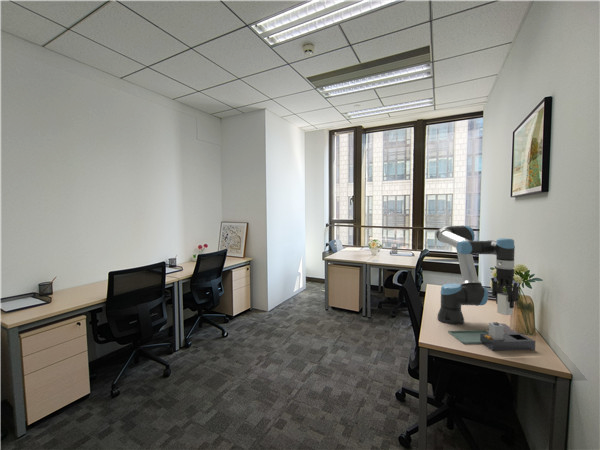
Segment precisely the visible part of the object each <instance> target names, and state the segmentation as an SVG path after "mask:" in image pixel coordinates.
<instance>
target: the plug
mask: <svg viewBox="0 0 600 450" xmlns="http://www.w3.org/2000/svg"><path fill="white" fill-rule="evenodd" d="M507 301H509V299H508V294H507V292H504V291H502V293H500V294H497V304H496V307H497V309H496V311H497V312H496V313H498V314H499V315H500V314H501V315H503V316H511V315H512V314H507Z"/></svg>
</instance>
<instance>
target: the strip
mask: <svg viewBox="0 0 600 450" xmlns="http://www.w3.org/2000/svg"><path fill="white" fill-rule="evenodd" d="M480 341H482V344H481V345H483V346H485V347H486V348H487V349H489V350H490V351H492V352H498V351H499V352H500V351H502V352H505V351H507V352H509V351H536V340H534V339H532V338H530V337H529V336H527V335H525V334H523V333H521V332H517V333H503V340H493V339H492V337H490V336H489V334H480Z"/></svg>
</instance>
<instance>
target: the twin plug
mask: <svg viewBox="0 0 600 450" xmlns="http://www.w3.org/2000/svg"><path fill="white" fill-rule="evenodd" d="M503 329H504V326H502V325H501V324H499V322H497V321H493V322H488V332H489V336H490V337H492V339H493V340H503V334H504V333H503Z"/></svg>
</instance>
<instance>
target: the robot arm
mask: <svg viewBox="0 0 600 450" xmlns="http://www.w3.org/2000/svg"><path fill="white" fill-rule="evenodd" d="M475 235H476V234H475V231H474V230H473V228H472V227H471V226H469V225H444V226H441V227H440V228H438V229H437V230H436V232H435V237H436V240H437V241H439V242H440V243H442V244H448V245H450V246H451V247H453V248H455V249H456V254H457V260H458V264H459V268H460V273H461V275H460V276H461V278H462V282H461V284H460V283H453V282H452V283H451V282H450V283H444V284H442V285H441V287H440V307H439V310H438V313H437V320H438V321H439V322H440V323H444V324H449V325H456V326H458V325H464V323H465V317H464V315H463V312H462V306H476V307H478V306H485V305H486V304H487V303H488V301H489V291H488V289H487V287H485V286H483V284H482V282H480V281H479V278H478V275H477V274H478V273H477V270H476V266H475V261H474V257H473V255H492V256H493V255H495V256H496V261H495V262H496V265H495V266H496V269H495V270H496V271H495V272H496V276H495V277H491V278H490V280H491V286H492V287H491V294H492V296H493V297H495V299H496V300H495V303H496V305H497V294H500V293H502V292H504V287H505V289H506V293H507V294H508V299H509V301H507V314H511V315H513V309H514V308H515V302H519V293H520V285H521V283H520V282H517V281H516V280H515V278H514V276H515V269H514V268H515V247H516V246H515V240H514V239H513V238H504V237H503V238H502V237H501V238H497V239H496V240H475V237H476V236H475Z"/></svg>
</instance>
